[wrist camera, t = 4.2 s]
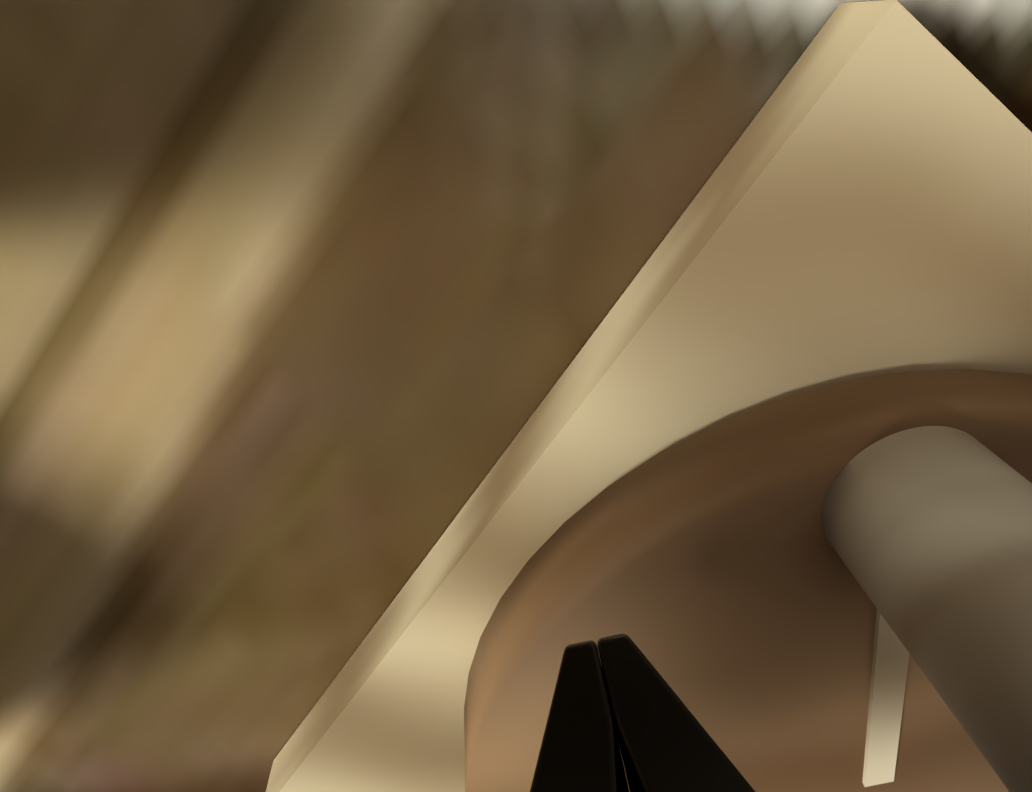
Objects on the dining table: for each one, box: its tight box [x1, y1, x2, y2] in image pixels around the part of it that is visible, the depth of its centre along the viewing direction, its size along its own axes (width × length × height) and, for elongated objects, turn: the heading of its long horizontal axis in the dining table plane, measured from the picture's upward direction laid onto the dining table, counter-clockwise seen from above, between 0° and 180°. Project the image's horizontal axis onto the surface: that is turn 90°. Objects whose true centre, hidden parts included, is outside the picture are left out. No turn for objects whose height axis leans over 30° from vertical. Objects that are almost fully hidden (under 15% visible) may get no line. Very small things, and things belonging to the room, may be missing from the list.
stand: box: [266, 0, 1032, 792], centre depth 16 cm, size 21×19×2 cm
